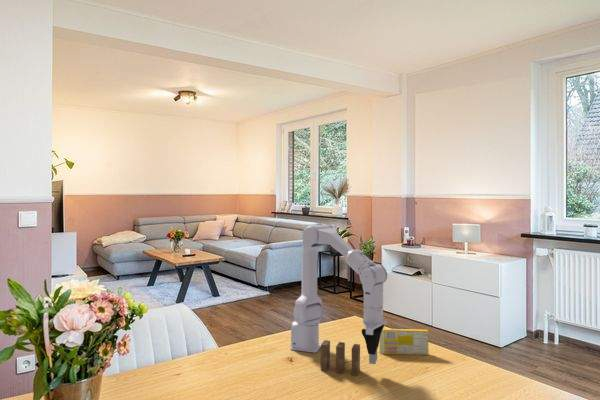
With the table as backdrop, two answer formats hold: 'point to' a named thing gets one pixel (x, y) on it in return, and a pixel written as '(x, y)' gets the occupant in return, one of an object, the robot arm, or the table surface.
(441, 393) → the table surface
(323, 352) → the domino
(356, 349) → the domino
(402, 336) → the candy box
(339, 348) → the domino
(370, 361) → the domino
